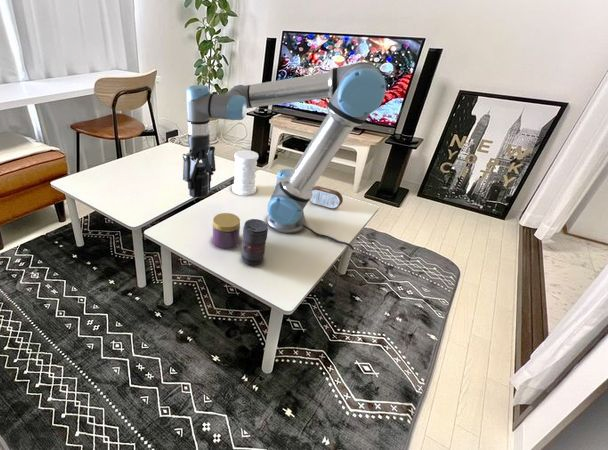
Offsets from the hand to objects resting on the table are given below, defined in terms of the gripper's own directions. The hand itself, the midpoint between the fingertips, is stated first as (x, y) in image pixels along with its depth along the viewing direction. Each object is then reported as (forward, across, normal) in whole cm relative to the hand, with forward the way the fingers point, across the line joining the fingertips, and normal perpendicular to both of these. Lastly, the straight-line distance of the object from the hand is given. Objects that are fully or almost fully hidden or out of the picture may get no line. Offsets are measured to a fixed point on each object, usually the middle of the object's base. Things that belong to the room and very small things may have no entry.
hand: (200, 193), depth 130 cm
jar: (+15, 0, +14) cm, 21 cm away
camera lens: (+16, +2, +29) cm, 33 cm away
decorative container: (+15, -37, -9) cm, 41 cm away
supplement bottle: (+1, 0, 0) cm, 1 cm away
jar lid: (+6, 0, +14) cm, 16 cm away
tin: (+16, -51, +25) cm, 59 cm away
